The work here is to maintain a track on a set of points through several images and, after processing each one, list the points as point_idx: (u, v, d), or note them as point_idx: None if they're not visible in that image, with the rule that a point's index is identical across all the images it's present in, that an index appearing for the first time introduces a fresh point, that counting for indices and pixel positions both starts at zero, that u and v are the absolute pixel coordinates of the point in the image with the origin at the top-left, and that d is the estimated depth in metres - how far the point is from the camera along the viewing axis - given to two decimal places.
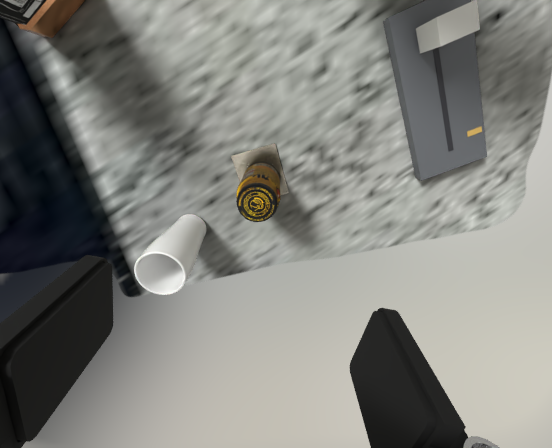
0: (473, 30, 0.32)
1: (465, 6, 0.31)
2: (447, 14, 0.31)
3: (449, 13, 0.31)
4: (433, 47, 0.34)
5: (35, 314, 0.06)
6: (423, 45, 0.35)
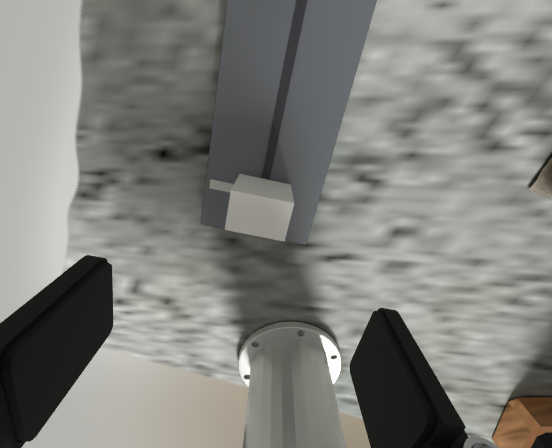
0: (240, 194, 0.19)
1: (242, 230, 0.20)
2: (269, 236, 0.20)
3: (266, 235, 0.20)
4: (292, 198, 0.21)
5: (35, 314, 0.06)
6: None
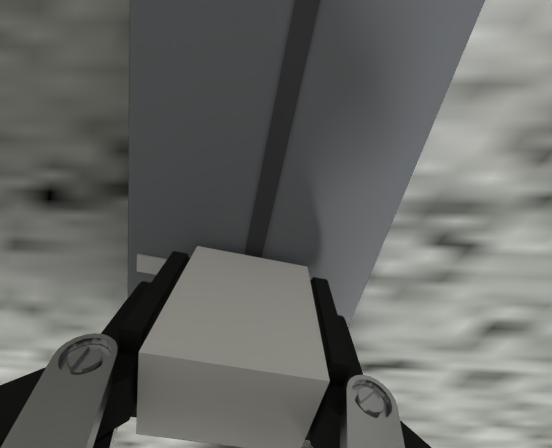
0: (169, 362, 0.06)
1: (184, 434, 0.07)
2: (257, 445, 0.07)
3: (249, 444, 0.07)
4: None
5: (157, 299, 0.08)
6: None
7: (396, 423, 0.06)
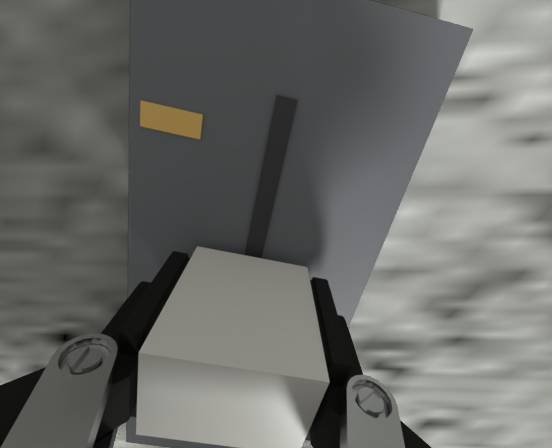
0: (169, 363, 0.06)
1: (184, 435, 0.07)
2: (257, 446, 0.07)
3: (249, 445, 0.07)
4: None
5: (156, 299, 0.08)
6: None
7: (396, 423, 0.06)
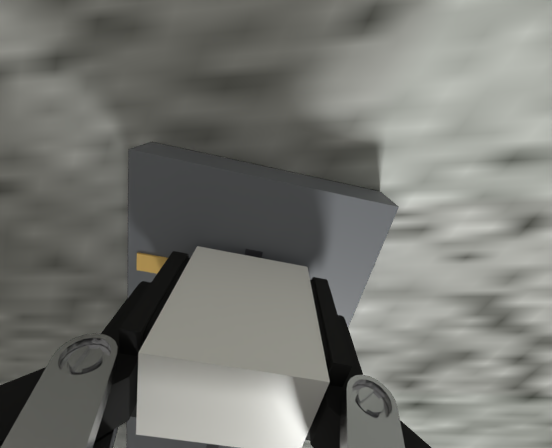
0: (169, 363, 0.06)
1: (184, 435, 0.07)
2: (257, 445, 0.07)
3: (249, 444, 0.07)
4: None
5: (157, 299, 0.08)
6: None
7: (396, 423, 0.06)
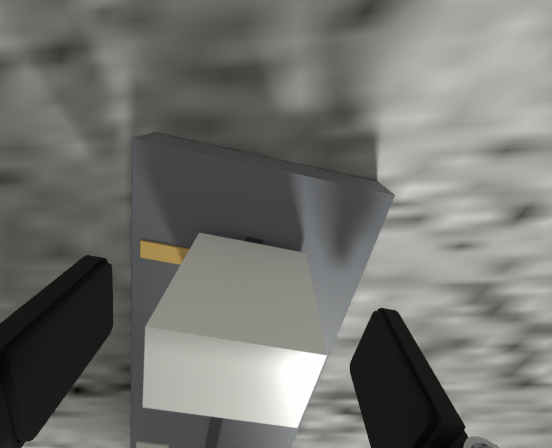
0: (174, 336, 0.07)
1: (189, 408, 0.08)
2: (258, 418, 0.08)
3: (250, 417, 0.08)
4: None
5: (35, 314, 0.06)
6: None
7: None
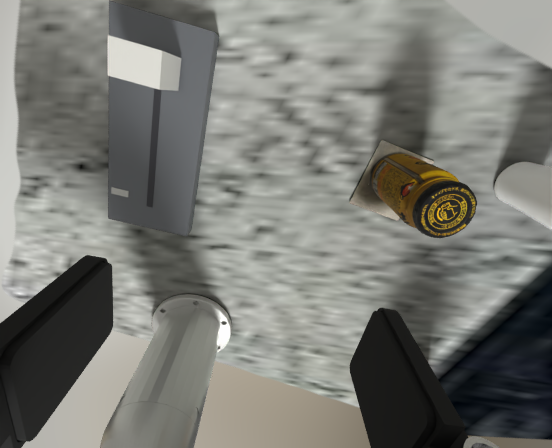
0: (116, 39, 0.23)
1: (122, 77, 0.24)
2: (145, 83, 0.24)
3: (143, 82, 0.24)
4: (168, 55, 0.24)
5: (35, 314, 0.06)
6: (176, 65, 0.27)
7: None
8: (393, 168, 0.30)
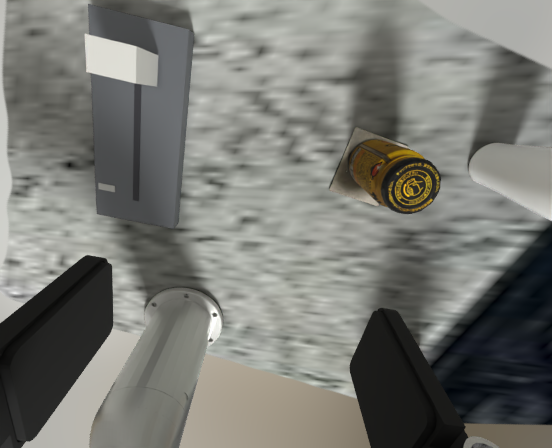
0: (93, 38, 0.24)
1: (100, 72, 0.25)
2: (122, 78, 0.25)
3: (120, 77, 0.25)
4: (143, 51, 0.26)
5: (35, 314, 0.06)
6: (153, 62, 0.28)
7: None
8: (365, 152, 0.31)
